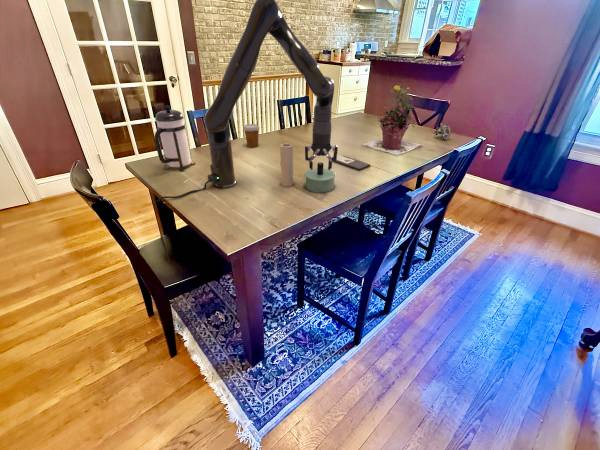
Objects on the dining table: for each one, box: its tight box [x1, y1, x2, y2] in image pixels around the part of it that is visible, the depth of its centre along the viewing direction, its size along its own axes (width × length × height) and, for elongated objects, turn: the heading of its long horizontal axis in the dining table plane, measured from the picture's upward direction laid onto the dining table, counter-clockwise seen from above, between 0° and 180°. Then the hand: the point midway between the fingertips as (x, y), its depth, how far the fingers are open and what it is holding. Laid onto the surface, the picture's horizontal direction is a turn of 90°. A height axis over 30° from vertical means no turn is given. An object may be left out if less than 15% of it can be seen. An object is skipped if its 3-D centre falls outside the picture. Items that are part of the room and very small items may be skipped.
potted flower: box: [362, 82, 422, 157], centre depth 178 cm, size 27×25×35 cm
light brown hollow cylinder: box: [279, 142, 294, 187], centre depth 134 cm, size 5×5×18 cm
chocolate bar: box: [332, 155, 371, 172], centre depth 161 cm, size 9×1×18 cm
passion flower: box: [432, 122, 452, 141], centre depth 199 cm, size 11×11×12 cm
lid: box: [304, 161, 337, 181], centre depth 133 cm, size 14×14×6 cm
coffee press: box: [154, 104, 196, 172], centre depth 148 cm, size 17×16×30 cm
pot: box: [305, 177, 335, 193], centre depth 136 cm, size 13×13×6 cm
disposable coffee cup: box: [243, 123, 260, 148], centre depth 184 cm, size 10×10×12 cm
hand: (320, 169), depth 133 cm, fingers open, 7 cm apart
